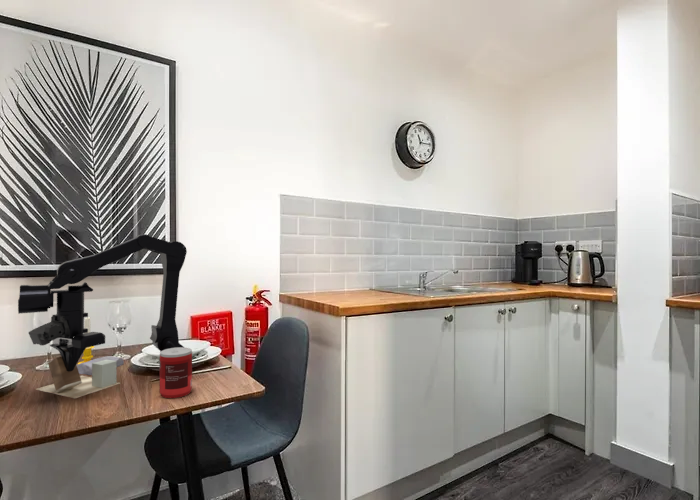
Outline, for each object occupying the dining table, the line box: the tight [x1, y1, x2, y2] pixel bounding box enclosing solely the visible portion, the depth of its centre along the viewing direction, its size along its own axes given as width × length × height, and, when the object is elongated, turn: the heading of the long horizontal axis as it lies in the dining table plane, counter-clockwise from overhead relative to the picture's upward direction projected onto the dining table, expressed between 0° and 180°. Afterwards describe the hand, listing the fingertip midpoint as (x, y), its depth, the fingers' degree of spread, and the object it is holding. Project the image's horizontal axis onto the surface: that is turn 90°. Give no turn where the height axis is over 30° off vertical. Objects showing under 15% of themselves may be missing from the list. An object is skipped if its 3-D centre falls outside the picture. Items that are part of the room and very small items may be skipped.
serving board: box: [35, 375, 121, 399], centre depth 104 cm, size 16×12×1 cm
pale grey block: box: [91, 359, 117, 388], centre depth 105 cm, size 4×4×6 cm
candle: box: [77, 316, 96, 364], centre depth 126 cm, size 5×5×16 cm
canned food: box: [159, 346, 193, 399], centre depth 101 cm, size 8×8×11 cm
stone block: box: [76, 355, 125, 376], centre depth 119 cm, size 12×5×10 cm
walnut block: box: [47, 356, 82, 393], centre depth 100 cm, size 4×4×8 cm
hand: (70, 370), depth 99 cm, fingers closed
